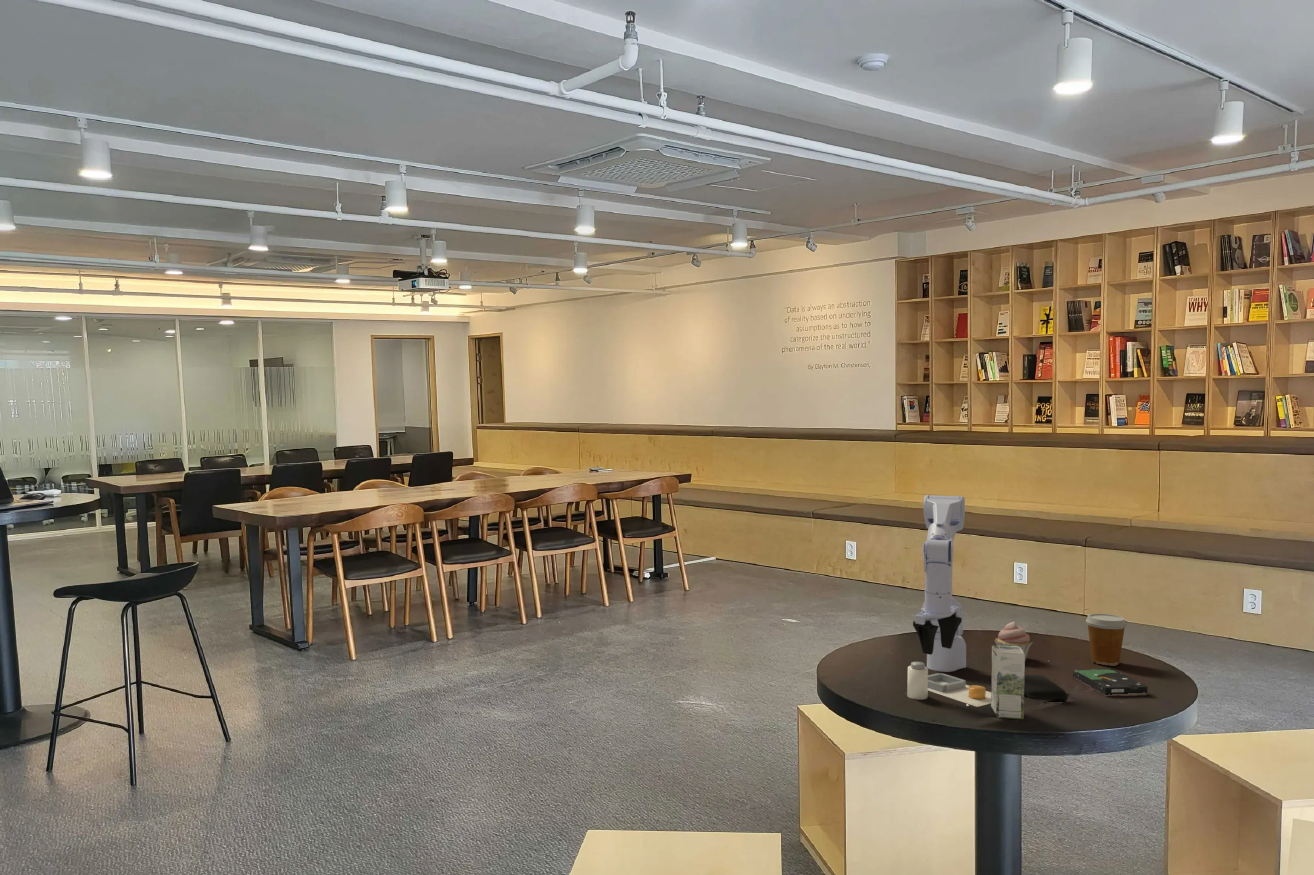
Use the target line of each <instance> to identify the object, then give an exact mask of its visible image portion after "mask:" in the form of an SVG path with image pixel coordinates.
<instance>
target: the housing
mask: <svg viewBox="0 0 1314 875" xmlns="http://www.w3.org/2000/svg"><path fill="white" fill-rule="evenodd" d="M966 683H967V682H966V679H962V678H960V677H959V678H958V677H956V676H952V675H949V674H945V673H944V672H943V673H942V672H941V673H938V672H937V673H933V674H928V691H929V692H931V693H934V694H938V695H941V696H943V697H946V698H949V699H952V700H954V701H958V702H962V703H965V704H968V705H970V706H973V707H975V708H978V707H982V706H986V705H991V691H987V690H986V698H984V699H974V698H971V697H969V686H970V685H968V684H966Z"/></svg>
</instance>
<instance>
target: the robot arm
mask: <svg viewBox="0 0 1314 875" xmlns="http://www.w3.org/2000/svg"><path fill="white" fill-rule="evenodd" d="M965 499H966V498H965V497H964V496H963V495H935V494H934V495H932V494H926V495H925V496H924V497H923V518H924V524H925V528H926V529H928V530H927V536H926V541H923V544H922V560H923V572H924V601H923V604H922V607H921V608H920V612H919V613H918V614H915V617H914V620H913V621H912V626H913V628H914V630H915V631H916V634H917V637H918V639H919V642H920V647H921V650H922V653H923V654H925V655H926V667H927V668H928V670H932V671H935V672H941V673H942V672H943V673H947V672H948V673H950V672H955V671H957V670H960V669H965V668H967V643H966V641H965V639H964V638H963V636H962V635H964V634H963V633H964V612H963V609H964V607H963V606H962V603H960V602H959V601H958V600H957V599H956V598H954V597H953V595H952V593H953V562H954V539H955V536H956V533H957V532H959V531H962V530H963V529H964V525H965V514H966V512H965V511H966V500H965Z"/></svg>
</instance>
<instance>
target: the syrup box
mask: <svg viewBox="0 0 1314 875" xmlns="http://www.w3.org/2000/svg"><path fill="white" fill-rule="evenodd" d="M1025 663H1026V660H1025V654H1024V652H1023V651H1022V649H1021V648H1020V647H1018V646H997V645H994V644H993V645H991V679H990V680H991V684H990V685H991V689H990V692H991V704H990V707H991V709H992V710H993V712H994V717H995V718H997V719H1010V720H1024V715H1025V714H1024V709H1025V708H1024V707H1025V705H1024V704H1025V697H1024V675H1025V667H1026V666H1025Z"/></svg>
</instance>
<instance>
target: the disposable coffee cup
mask: <svg viewBox="0 0 1314 875" xmlns="http://www.w3.org/2000/svg"><path fill="white" fill-rule="evenodd" d="M1085 623H1086V624H1087V628H1088V629H1087V630H1088V638H1089V639H1088V640H1089V645H1090V646H1089V647H1090V655H1091V656H1090V657H1091V661H1092V660H1094V661H1099V662H1106V663H1115V662H1119V663H1120V661H1121V660H1120V659H1121V655H1122V654H1121V653H1122V646H1123V641H1124V635H1125V628H1127V622H1126V619H1125V618H1124V616H1121V615H1116V614H1110V613H1089V614H1088V615H1087V618H1086V619H1085Z"/></svg>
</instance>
